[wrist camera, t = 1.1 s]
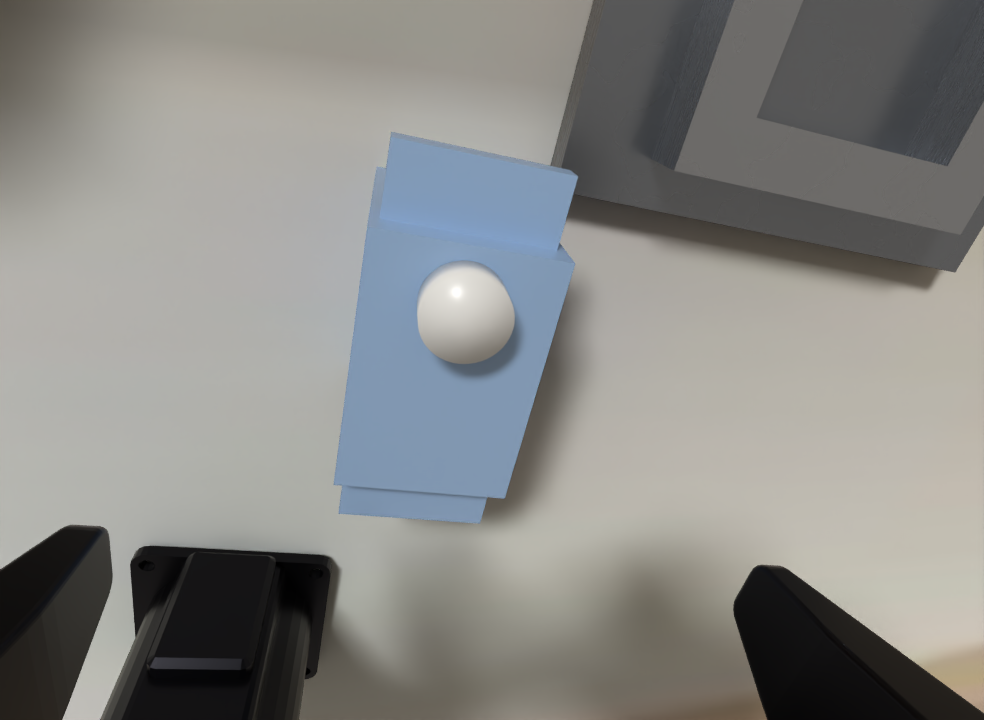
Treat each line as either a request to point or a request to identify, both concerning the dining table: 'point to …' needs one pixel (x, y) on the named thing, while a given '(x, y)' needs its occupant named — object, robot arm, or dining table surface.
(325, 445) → the dining table surface
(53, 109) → the dining table surface
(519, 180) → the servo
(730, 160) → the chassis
